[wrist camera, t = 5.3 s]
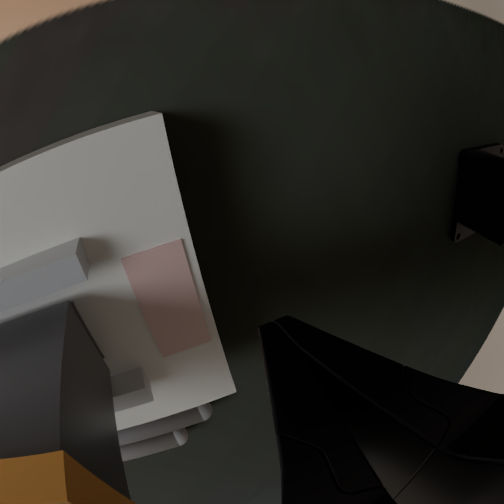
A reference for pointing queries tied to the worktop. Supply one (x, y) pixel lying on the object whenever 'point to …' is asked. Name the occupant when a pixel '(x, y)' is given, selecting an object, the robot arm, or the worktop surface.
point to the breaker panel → (114, 263)
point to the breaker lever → (56, 414)
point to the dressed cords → (160, 433)
